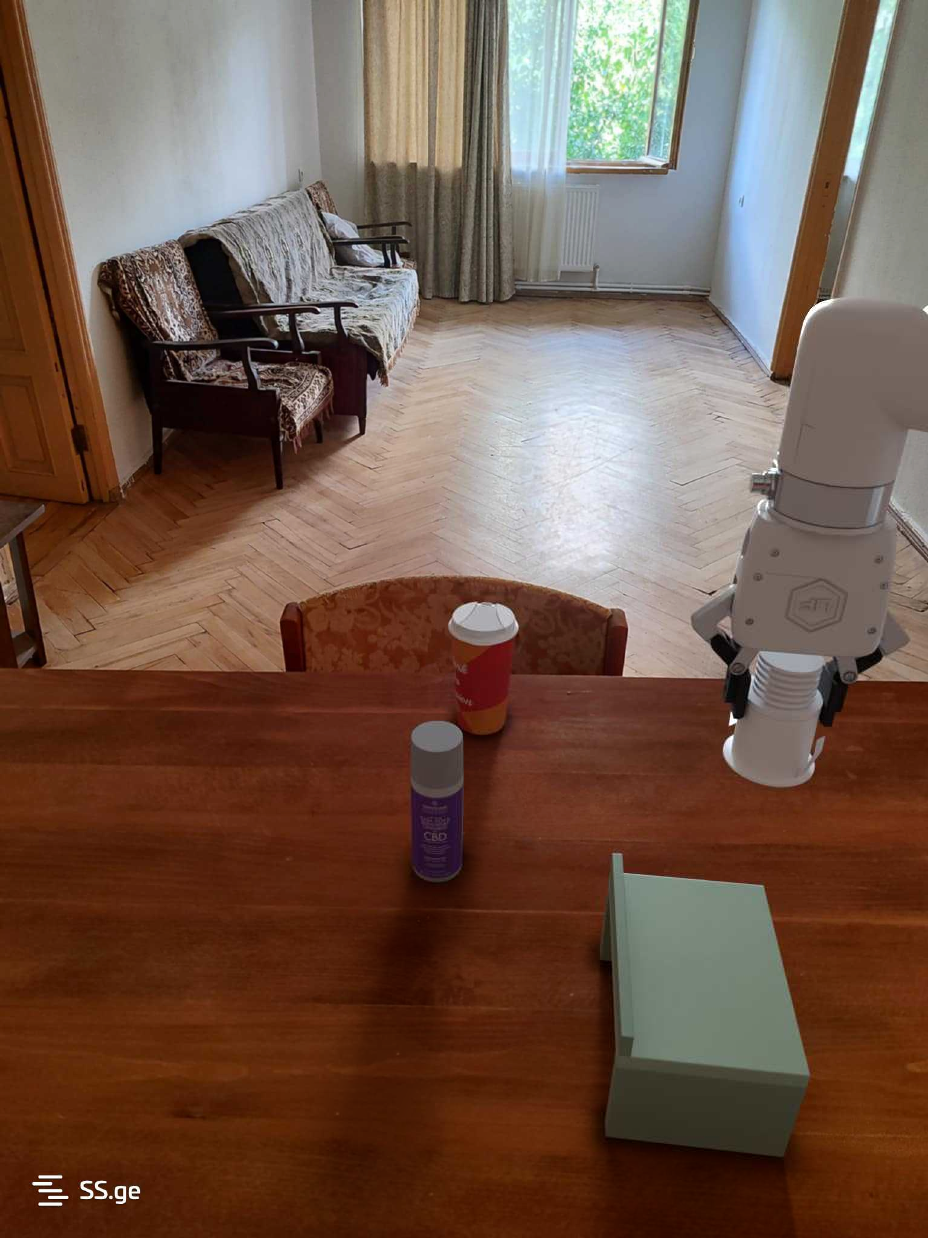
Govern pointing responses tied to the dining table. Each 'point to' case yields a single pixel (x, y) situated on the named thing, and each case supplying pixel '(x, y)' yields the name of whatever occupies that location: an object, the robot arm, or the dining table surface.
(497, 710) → the paper cup
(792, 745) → the downlight
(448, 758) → the container
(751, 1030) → the green ledge block
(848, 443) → the robot arm
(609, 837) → the dining table surface
